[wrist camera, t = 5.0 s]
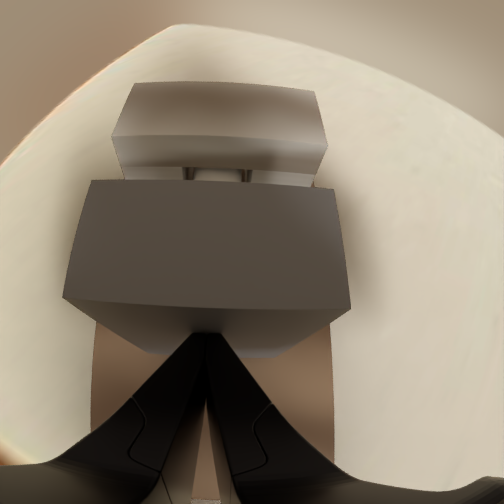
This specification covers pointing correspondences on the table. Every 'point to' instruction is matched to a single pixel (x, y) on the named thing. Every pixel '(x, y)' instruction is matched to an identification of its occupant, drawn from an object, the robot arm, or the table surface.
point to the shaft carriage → (209, 261)
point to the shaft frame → (253, 171)
